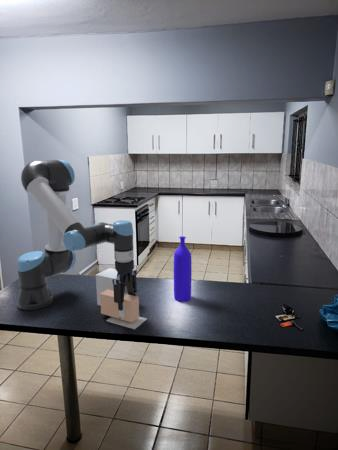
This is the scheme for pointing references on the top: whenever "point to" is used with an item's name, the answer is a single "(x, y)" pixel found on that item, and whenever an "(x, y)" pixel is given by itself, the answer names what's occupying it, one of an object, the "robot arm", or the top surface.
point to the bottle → (182, 272)
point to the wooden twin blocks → (112, 308)
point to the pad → (127, 324)
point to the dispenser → (105, 282)
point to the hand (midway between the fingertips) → (126, 313)
